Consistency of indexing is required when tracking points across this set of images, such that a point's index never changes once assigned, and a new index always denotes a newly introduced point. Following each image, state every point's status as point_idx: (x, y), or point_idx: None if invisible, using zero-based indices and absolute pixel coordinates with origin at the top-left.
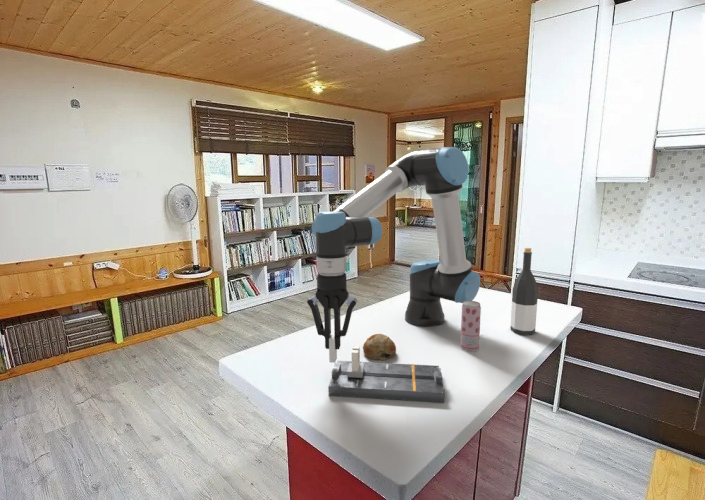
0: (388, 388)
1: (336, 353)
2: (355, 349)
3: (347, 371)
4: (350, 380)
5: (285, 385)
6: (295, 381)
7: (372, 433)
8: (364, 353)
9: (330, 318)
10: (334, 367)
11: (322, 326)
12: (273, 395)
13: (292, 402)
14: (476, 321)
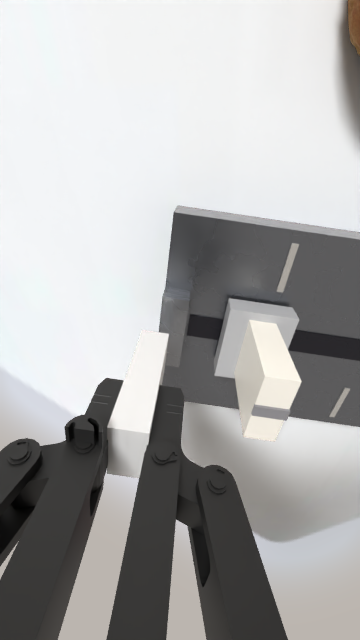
0: (340, 418)
1: (165, 354)
2: (268, 418)
3: (216, 375)
4: None
5: (13, 320)
6: (34, 298)
7: (254, 482)
8: (348, 12)
9: (46, 616)
10: None
11: (9, 501)
12: (5, 365)
13: (69, 394)
14: None
